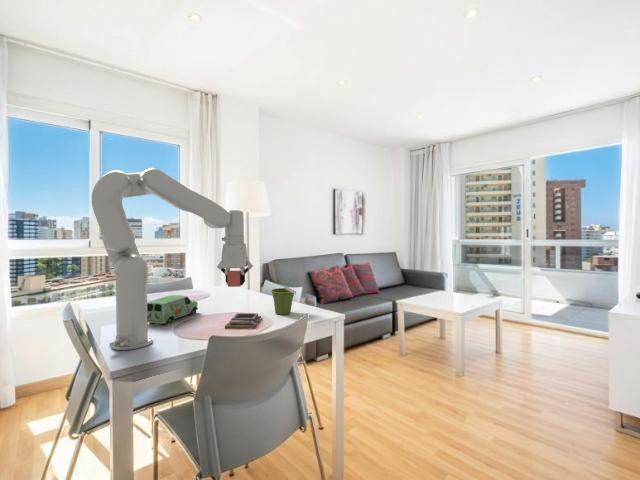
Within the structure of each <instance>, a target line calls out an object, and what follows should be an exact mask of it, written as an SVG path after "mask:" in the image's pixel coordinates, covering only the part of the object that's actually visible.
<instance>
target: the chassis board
mask: <svg viewBox="0 0 640 480" xmlns="http://www.w3.org/2000/svg"><path fill="white" fill-rule="evenodd" d="M260 318H261V319H262V315H259V313H257V312H256V313H253V312H251V313H249V312H248V313H243V312H242V313H241V312H240V313H239V312H238V313H235V315H234V316H233V317H232V318H231V319H230V320H229V321H228V322H227V323H226V324H225V325H224V329H226V328H238V330H239V329H240V330H244V329H243V328H254V329H256V327H257V326H258V324H257V323H259V322H260V321H259V320H261V319H260ZM258 321H259V322H258ZM255 326H256V327H255Z"/></svg>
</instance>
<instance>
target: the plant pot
mask: <svg viewBox="0 0 640 480" xmlns="http://www.w3.org/2000/svg"><path fill="white" fill-rule="evenodd" d="M270 292H271V294H272V299H273V304H274V312H275V314H276V315H279V316H282V315H283V316H285V315H286V314H287V315H290V314H291V311H292V304H293V299H294V296H295V292H293V291H291V290H289V289H288V288H286V287H281V288H279V287H278V288H272V289H271V290H270Z"/></svg>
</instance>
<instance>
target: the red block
mask: <svg viewBox="0 0 640 480" xmlns="http://www.w3.org/2000/svg"><path fill="white" fill-rule="evenodd" d="M240 275H241V271H240V269H239V270H238V269H236V270H231V269H230V271H229V272H227V279H228V285H227V287H229V288H231V287H232V288H233V287H234V288H235V287H239V288H240V287H241V286H243V285H244V284H242V285H241V284H240Z"/></svg>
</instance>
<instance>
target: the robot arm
mask: <svg viewBox="0 0 640 480" xmlns="http://www.w3.org/2000/svg"><path fill="white" fill-rule="evenodd" d="M146 195H147V196H148V195H155V196H157V197H158V198H159V199H161V200H163V201H164V202H166V203H168V204H170V205H172V207H175V208H176V209H179V210H180V211H184V212H188V213H191V214H194V215H196V216H198V217H200V218H201V219H203V222H204V225H206V227H208V228H210V229H224V237H221V241H222V242H224V243H222V249H221V258H220V259H221V260H220V262H219V264H217V266H216V267H217V269H219V270H220V271H221V272H222V273H223V274H224V275H225V283H226V285H227V286H228V279H227V272H229V271H231V269H239V270H240V271H241V275H240V284H241V285H242V284H243V285H244V284H245V283H246V274H247V273H248V272H249V271H250V270H251V269H252V268H253V267H254V265H253V264H252V263H251V261H250V260H249V258H248V257H249V255H248V249H247V245H246V243H245V236H244V235H245V234H244V233H245V232H244V229H245V227H244V225H245V224H244V223H245V222H244V220H245V219H244V211H242V210H237V209H231V210H227V209H225V208H224V207H223V206H220V205H219V204H217V202H215V201H213V200H212V199H210V198H208V197H205V196H204V195H202V194H199V193H198V192H196V191H194V190H191V188H190V187H187V186H185V185H184V184H182V183H181V182H179V181H177V179H174V178H173V177H172V176H170V175H168V174H167V173H165V172H164V171H162V170H160V169H158V168H156V167H155V168H153V167H151V168H148V169H145V170H144V171H142V172H135V173H134V172H133V173H125V172H124V171H121V170H111V171H109V172H107V173H105V174H104V175H102V176H101V177H100V178H99V179H98V180H97V182H96V183H95V185H94V186H93V189H92V192H91V207H92V210H93V214H94V216H95V220H96V222H97V225H98V226H99V230H100V233H101V235H102V236H101V240H102V244H103V246H104V248H105V251H106V254H107V255H108V258H109V260H110V262H111V266H112V267H113V270H114V272H115V310H116V311H115V318H116V321H115V322H116V324H115V326H116V327H115V328H116V334H115V340H113V341H111V342H110V343H109V348H110V349H113V350H116V351H129V350H137V349H140V348H145V347H146V346H149V345H151V344H152V343H153V337H152V336H151V335H150V336H149V335H148V334H149V333H148V331H149V330H148V328H149V327H148V326H149V325H148V323H149V322H148V321H147V302H148V276H149V266H148V263H147V261H146V259H144V258H143V257H142V256H141V255H140V252H139V250H138V247H137V244H136V242H135V239H136V237H135V232H134V231H133V230H132V227H131V225H130V223H129V220H128V218H127V215H126V211H125V209H124V206H123V199H126V198H131V197H132V198H133V197H141V196H146ZM243 285H242V286H243Z"/></svg>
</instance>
